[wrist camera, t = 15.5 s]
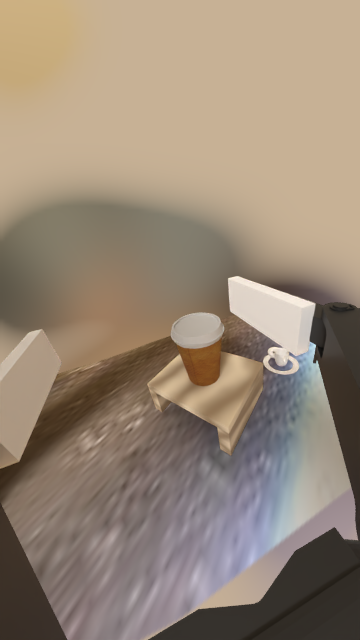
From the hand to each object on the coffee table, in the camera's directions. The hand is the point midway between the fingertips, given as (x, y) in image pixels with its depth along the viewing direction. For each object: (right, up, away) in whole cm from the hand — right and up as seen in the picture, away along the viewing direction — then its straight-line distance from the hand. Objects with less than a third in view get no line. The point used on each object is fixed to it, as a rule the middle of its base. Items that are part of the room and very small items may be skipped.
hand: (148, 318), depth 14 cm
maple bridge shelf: (+9, -18, +29) cm, 35 cm away
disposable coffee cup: (+7, -11, +25) cm, 29 cm away
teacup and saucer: (+30, -10, +36) cm, 48 cm away
